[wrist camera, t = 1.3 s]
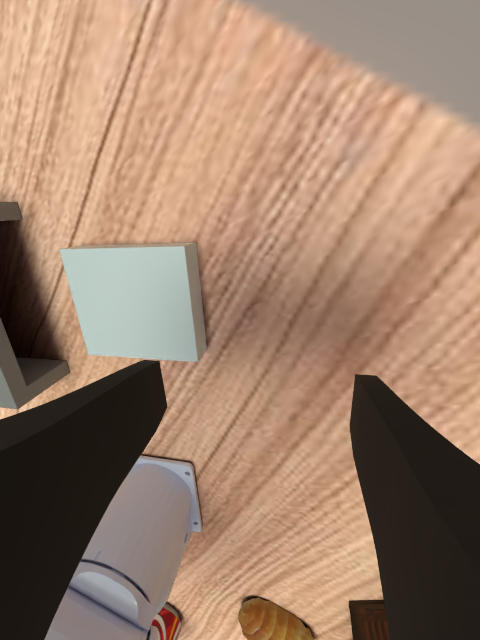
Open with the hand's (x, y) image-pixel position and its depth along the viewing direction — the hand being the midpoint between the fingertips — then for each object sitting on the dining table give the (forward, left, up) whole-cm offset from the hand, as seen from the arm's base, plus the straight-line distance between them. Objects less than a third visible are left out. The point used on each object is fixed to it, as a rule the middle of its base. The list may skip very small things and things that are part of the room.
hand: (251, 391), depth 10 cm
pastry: (-41, 0, -11) cm, 42 cm away
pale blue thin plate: (0, +10, -11) cm, 15 cm away
